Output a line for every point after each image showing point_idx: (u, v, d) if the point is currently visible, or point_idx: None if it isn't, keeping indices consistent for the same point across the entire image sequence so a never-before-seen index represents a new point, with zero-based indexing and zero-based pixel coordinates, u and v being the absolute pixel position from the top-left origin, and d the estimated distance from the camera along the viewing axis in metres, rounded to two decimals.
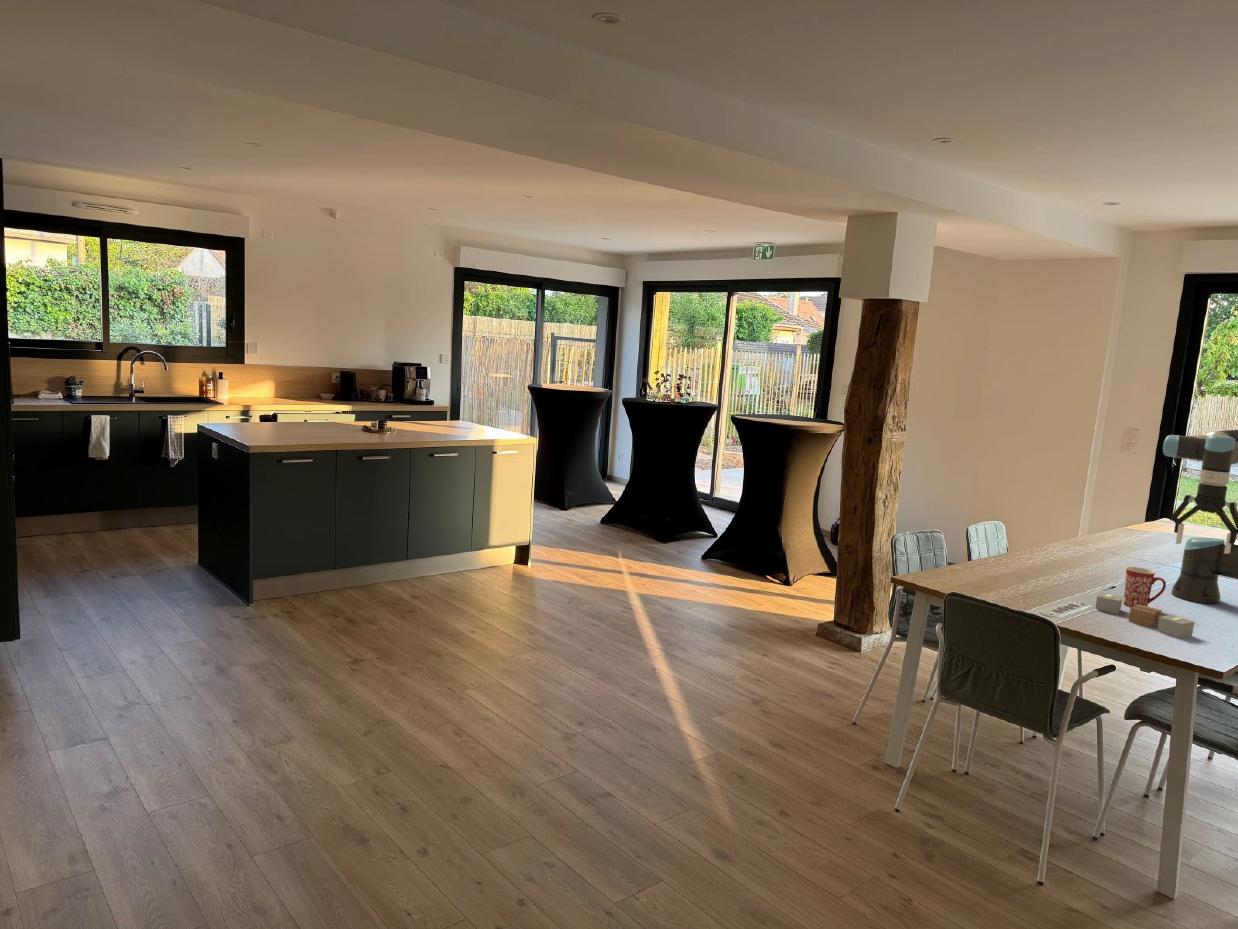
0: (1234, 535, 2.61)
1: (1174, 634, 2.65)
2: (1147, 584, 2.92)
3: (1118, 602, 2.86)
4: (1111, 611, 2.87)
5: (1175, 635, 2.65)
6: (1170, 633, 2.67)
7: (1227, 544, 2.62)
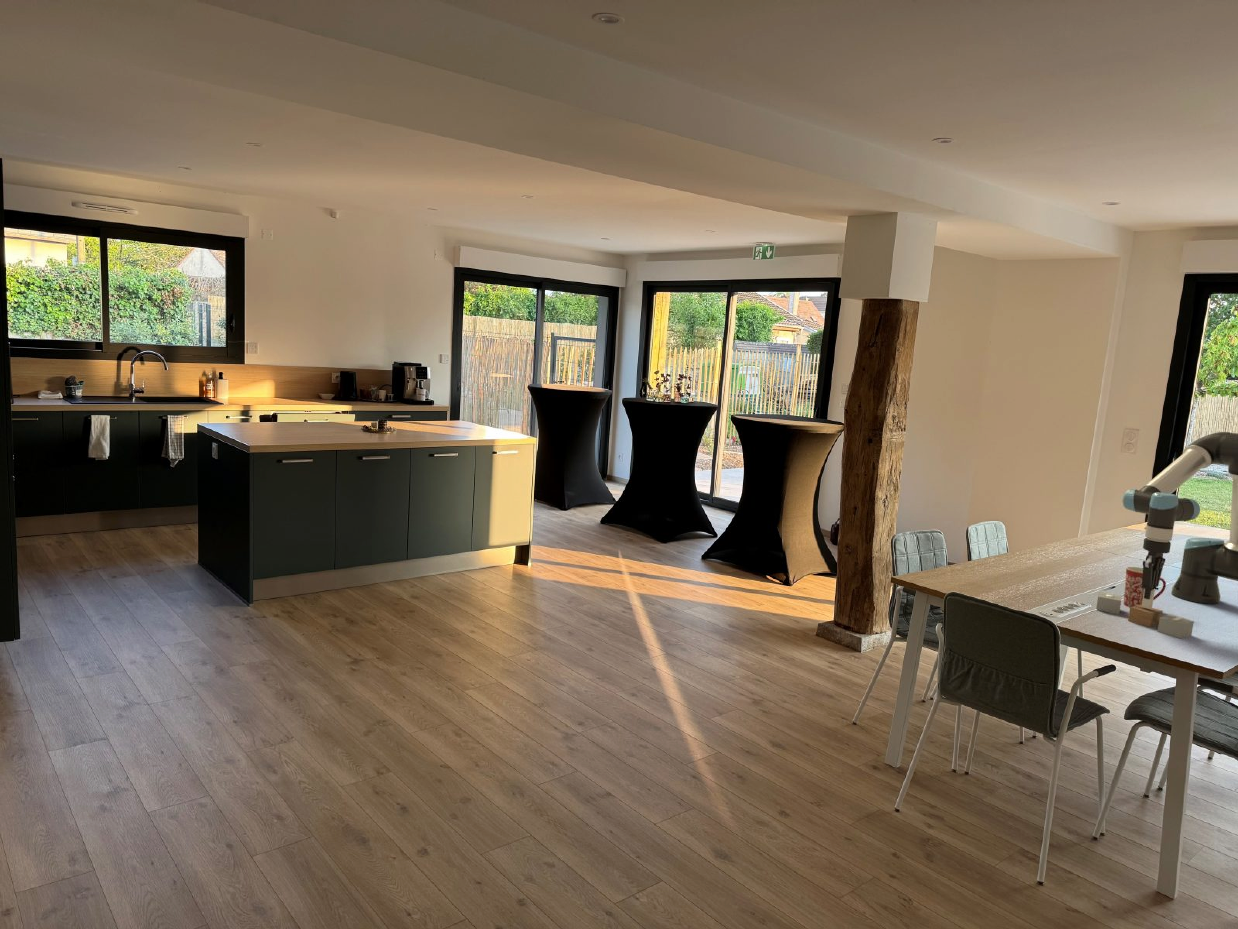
0: (1145, 590, 2.76)
1: (1175, 634, 2.65)
2: None
3: (1119, 602, 2.86)
4: (1112, 611, 2.87)
5: (1176, 635, 2.65)
6: (1171, 633, 2.66)
7: (1143, 598, 2.78)
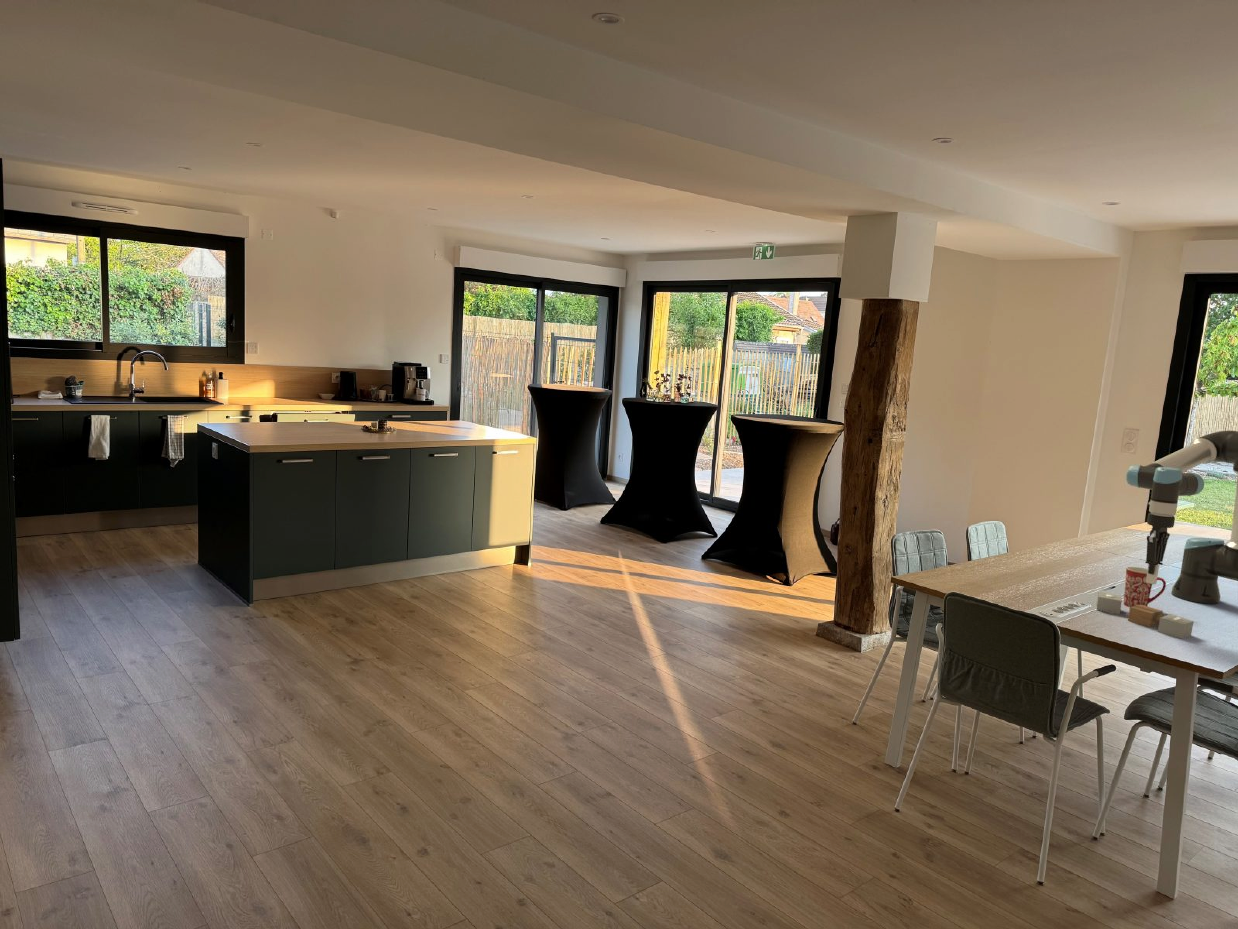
0: (1149, 565, 2.75)
1: (1176, 634, 2.65)
2: (1147, 584, 2.92)
3: (1120, 602, 2.86)
4: (1113, 611, 2.87)
5: (1177, 635, 2.65)
6: (1171, 633, 2.66)
7: (1147, 573, 2.77)
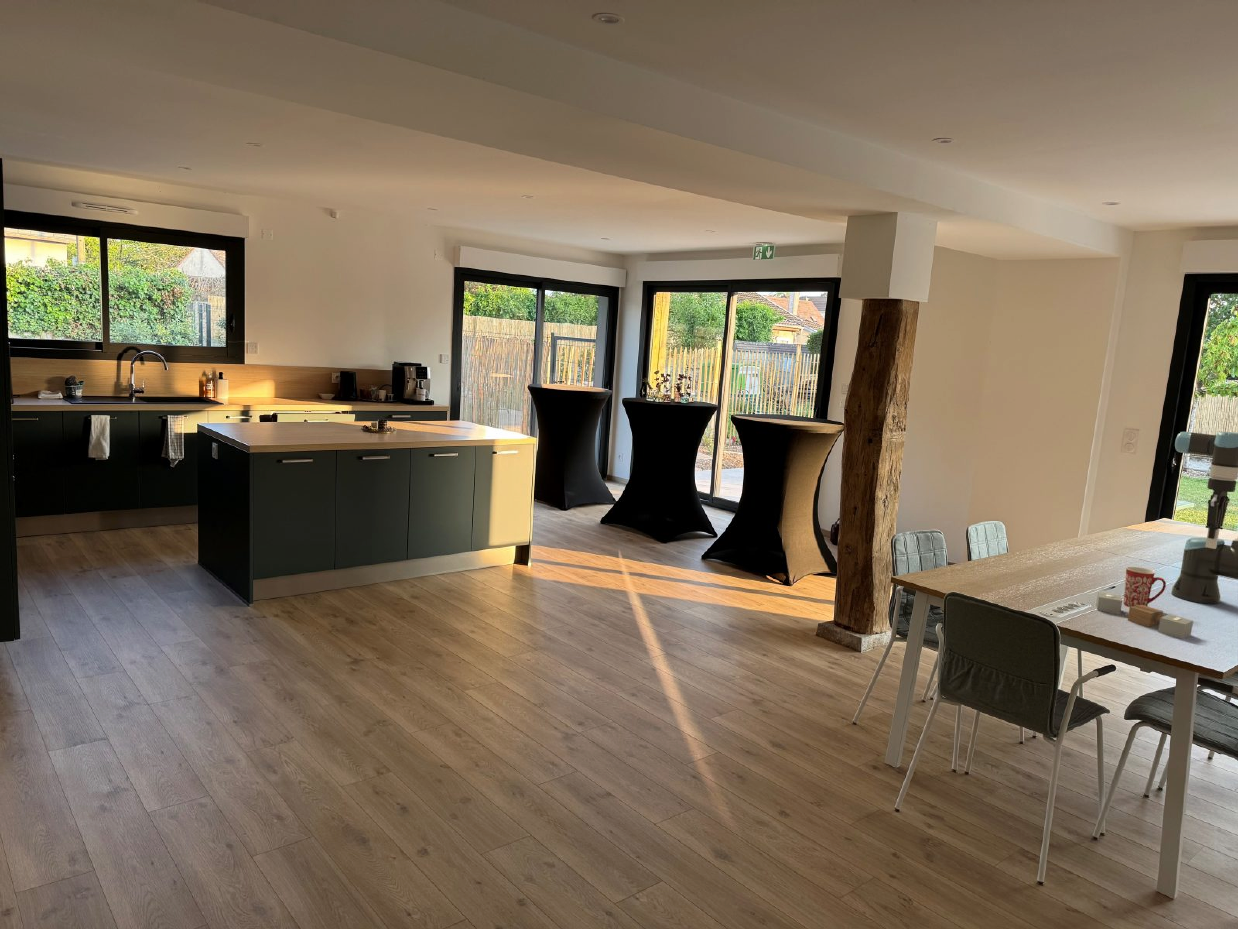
0: (1209, 530, 2.76)
1: (1177, 634, 2.65)
2: (1147, 584, 2.92)
3: (1120, 602, 2.86)
4: (1113, 611, 2.87)
5: (1178, 635, 2.65)
6: (1172, 633, 2.66)
7: (1207, 538, 2.78)
